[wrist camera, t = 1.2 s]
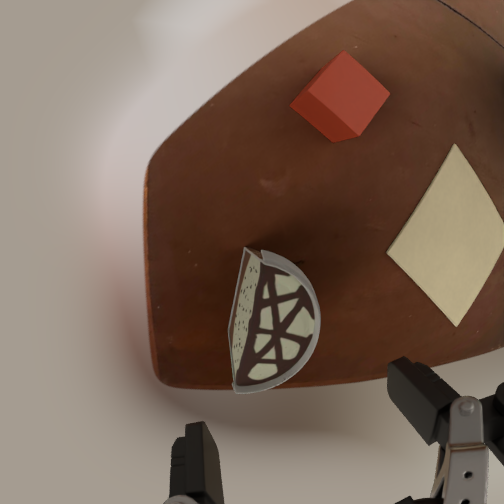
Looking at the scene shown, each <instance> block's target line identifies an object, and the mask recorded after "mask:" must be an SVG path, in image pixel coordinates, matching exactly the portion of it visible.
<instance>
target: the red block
mask: <svg viewBox="0 0 504 504" xmlns="http://www.w3.org/2000/svg"><path fill="white" fill-rule="evenodd" d="M389 95H390V93H389V92H388V91H387V90H386V89H385V88H384V87H383V86H382V85H381V84H380V83H379V82H378V81H377V80H376V79H375V78H374V77H373V76H372V75H371V74H370V73H369V72H368V71H367V70H366V69H365V68H364V67H363V66H361V65H360V64H359V63H358V62H357V61H356V60H355V59H354V58H353V57H351V56H350V55H349V54H348V53H347V52H346V51H344V50H342V51H341V52H340V53H339V54H338V55H336V56H335V57H334V58H333V59H332V60H331V61H330V62H328V63H327V64H326V65H325V66H324V67H323V68H321V69H320V71H319V72H318V73H317V74H316V75H315V76H314V77H313V78H312V80H311V81H310V82H309V83H308V84H307V85H306V86H305V88H304V89H303V90H302V91H301V92H300V93H299V95H298V96H297V97H296V98H295V99H294V100H293V102H292V103H291V104H290V105H289V106H290V107H291V108H292V109H293V110H295V111H296V112H297V113H298V114H300V115H301V116H302V117H303V118H304V119H306V120H307V121H308V122H309V123H310V124H312V125H313V126H314V127H315V128H316V129H317V130H319V131H320V132H321V133H322V134H323V135H324V136H325V137H327V138H328V139H329V140H330V141H331V142H332V143H335V142H339V141H343V140H347V139H351V138H355V137H359V136H360V135H361V134H362V132H363V131H364V129H365V128H366V127H367V125H368V124H369V123H370V121H371V120H372V119H373V117H374V116H375V114H376V113H377V112H378V110H379V109H380V108H381V106H382V105H383V103H384V102H385V101H386V99H387V98H388V97H389Z"/></svg>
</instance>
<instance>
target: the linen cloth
mask: <svg viewBox="0 0 504 504" xmlns="http://www.w3.org/2000/svg"><path fill="white" fill-rule="evenodd" d="M503 248H504V223H503V221H502V219H501V217H500V215H499V213H498V211H497V210H496V208H495V206H494V204H493V202H492V200H491V199H490V197H489V195H488V194H487V192H486V190H485V188H484V187H483V185H482V183H481V182H480V180H479V179H478V177H477V175H476V174H475V172H474V171H473V169H472V167H471V166H470V164H469V163H468V161H467V160H466V158H465V157H464V156H463V154H462V153H461V151H460V150H459V148H458V147H457V145H456V144H453V146H452V148H451V150H450V151H449V153H448V155H447V157H446V159H445V160H444V162H443V164H442V166H441V167H440V169H439V171H438V172H437V174H436V176H435V178H434V179H433V181H432V183H431V184H430V186H429V188H428V189H427V191H426V192H425V194H424V196H423V197H422V199H421V200H420V202H419V204H418V205H417V207H416V208H415V210H414V212H413V213H412V215H411V216H410V218H409V219H408V221H407V222H406V224H405V225H404V227H403V228H402V230H401V231H400V233H399V234H398V236H397V237H396V239H395V240H394V241H393V243H392V244H391V246H390V247H389V249H388V250H387V252H386V253H387V254H388V255H389V256H390V257H391V258H392V259H393V260H394V261H395V262H396V263H397V264H398V265H399V266H400V267H401V268H402V269H403V270H404V271H405V272H406V273H407V274H408V275H409V276H410V277H411V278H412V280H413V281H414V282H415V283H416V284H417V285H418V286H419V287H420V288H421V289H422V290H423V291H424V292H425V293H426V294H427V295H428V296H429V298H430V299H431V300H432V301H433V302H434V303H435V304H436V305H437V306H438V307H439V308H440V310H441V311H442V312H443V313H444V314H445V315H446V316H447V317H448V319H449V320H450V321H451V322H452V323H453V324H454V325H455V326H456V327H457V326H458V324H459V323H460V321H461V320H462V318H463V317H464V315H465V314H466V312H467V311H468V309H469V308H470V306H471V304H472V303H473V301H474V300H475V298H476V296H477V295H478V293H479V292H480V290H481V288H482V286H483V285H484V283H485V281H486V280H487V278H488V276H489V274H490V272H491V271H492V269H493V267H494V265H495V263H496V261H497V259H498V258H499V256H500V254H501V252H502V250H503Z"/></svg>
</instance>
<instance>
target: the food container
mask: <svg viewBox="0 0 504 504" xmlns="http://www.w3.org/2000/svg"><path fill="white" fill-rule="evenodd" d="M320 322H321V316H320V308H319V304H318V301H317V297H316V294H315V291H314V289H313V287H312V285H311V283H310V281H309V280H308V278H307V277H306V276H305V274H304V273H303V272H302V271H301V270H300V269H299V268H298V267H297V266H296V265H295V264H293V263H292V262H290V261H289V260H287V259H286V258H284V257H282V256H280V255H277V254H275V253H273V252H269V251H265V250H261V252H259V251H257V250H255V249H252V248H248V247H244V251H243V256H242V261H241V266H240V271H239V276H238V281H237V286H236V291H235V296H234V301H233V306H232V311H231V316H230V321H229V326H228V336H229V345H230V354H231V362H232V371H233V380H234V383H233V382H232V386H233V389H234V391H235V393H239V394H243V393H244V394H246V393H255V392H259V391H264V390H267V389H270V388H273V387H275V386H277V385H279V384H281V383H283V382H285V381H286V380H288V379H289V378H291V377H292V376H293V375H295V374H296V373H297V372H298V371H299V370H300V369H301V368H302V367H303V366H304V365H305V363H306V362H307V361H308V359H309V358H310V356H311V354H312V353H313V351H314V349H315V346H316V344H317V341H318V336H319V332H320Z"/></svg>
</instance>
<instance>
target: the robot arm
mask: <svg viewBox="0 0 504 504" xmlns="http://www.w3.org/2000/svg"><path fill="white" fill-rule="evenodd" d="M387 390H388V394H389V397H390V399H391V400H392V401H393V403H394V404H395V405H396V406H397V408H399V410H400V411H401V412H402V414H403V415H404V416H405V417H406V418H407V420H408V421H409V422H410V423H411V424H412V426H413V427H414V428H415V429H416V431H417V432H418V433H419V434H420V436H421V437H422V438H423V439H424V441H425V442H426V443H427V444H428V445H431V444H432V443H434V442H436V441H437V442H438V443H439V444H440V446H439V451H438V459H437V466H436V473H435V479H434V484H433V488H432V491H431V495H430V498H422V499H417V500H413V499H412V498H411V496H408V497H407V498H405V499H403V500H401V501H399V502H397V503H395V504H486V501H487V488H488V462H489V461H488V459H489V453H488V448H489V449H490V450H491V451H492V452H493V454H494V455H495V456H496V457H497V458H498V460H499V461H500V462H501V463H502V465H503V466H504V382H503V383H501V384H500V385H499V386H498V388H497V390H496V393H495V394H494V395H491V396H489V397H485V398H483V399H479V400H478V399H476V398H475V397H472V396H463V397H462V396H460V395H459V394H458V393H457V392H456V391H455V390H454V389H453V388H451V387H450V386H449V385H448V384H447V383H446V382H445V381H444V380H443V379H440V377H439V376H438V375H437V374H436V373H434V371H433V370H432V369H430V368H429V367H428V366H427V365H424V364H422V363H419V362H416V363H414V364H413V363H412V362H411V361H410V360H409V359H408V358H406V357H405V356H403V357H401V358H399V359H396V360H394V361H392V362H390V363H389V364H388V377H387ZM484 443H485V444H484ZM171 453H172V454H171V458H172V459H171V470H170V494H169V499H167V500H166V501H165V502H164V503H163V504H224V497H223V488H222V479H221V469H220V460H219V452H218V449H217V446H216V443H215V441H214V439H213V437H212V435H211V433H210V431H209V430H208V427H207V425H206V424H205V422H204V421H201V422H196V423H190V424H186V428H185V437H179V438H177V439H176V441H175V442H174V444H173V446H172V452H171Z"/></svg>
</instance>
